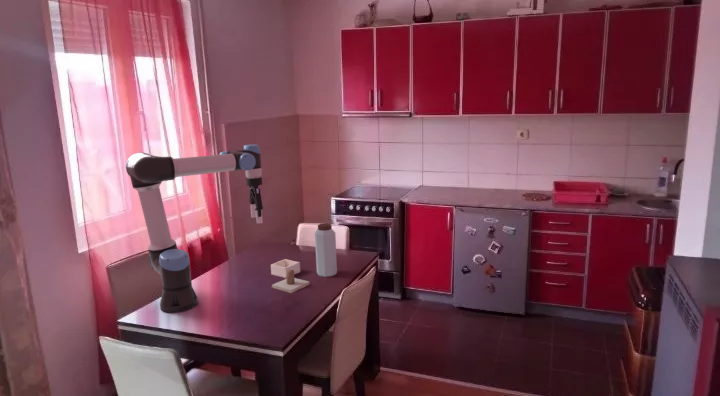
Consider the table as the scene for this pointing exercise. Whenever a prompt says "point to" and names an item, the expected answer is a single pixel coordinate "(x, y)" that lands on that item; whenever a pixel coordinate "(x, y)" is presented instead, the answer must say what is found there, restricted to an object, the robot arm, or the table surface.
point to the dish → (284, 267)
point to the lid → (290, 282)
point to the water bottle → (325, 250)
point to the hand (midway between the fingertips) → (256, 220)
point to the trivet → (290, 292)
